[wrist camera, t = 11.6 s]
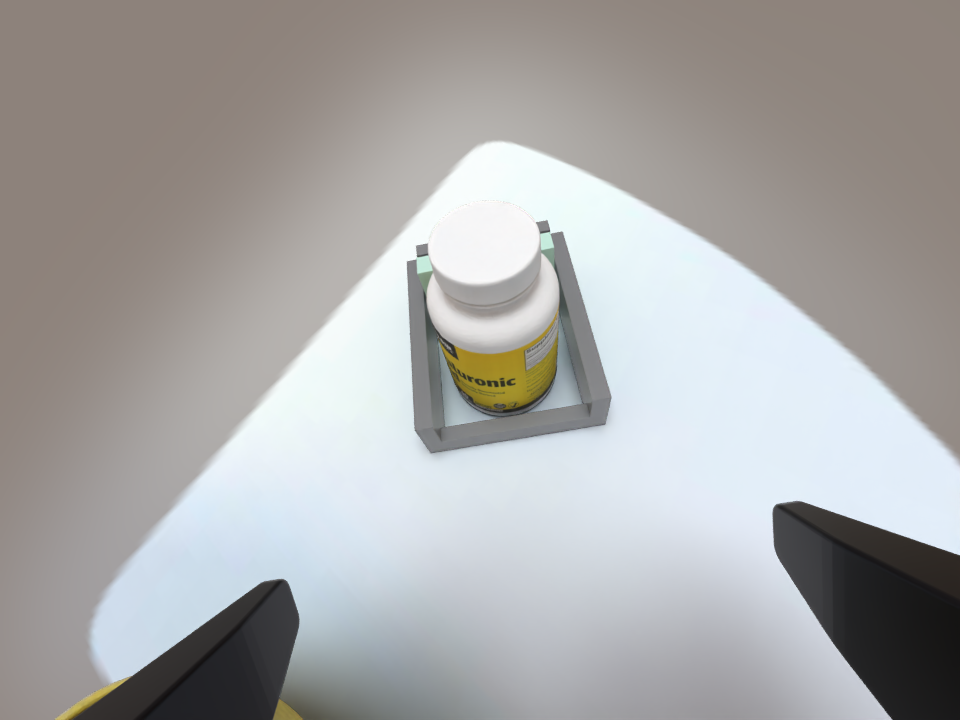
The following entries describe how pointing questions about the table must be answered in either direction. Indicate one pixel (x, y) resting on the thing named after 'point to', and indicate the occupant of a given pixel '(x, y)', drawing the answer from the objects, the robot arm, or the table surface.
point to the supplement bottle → (494, 306)
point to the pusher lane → (517, 426)
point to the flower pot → (283, 716)
